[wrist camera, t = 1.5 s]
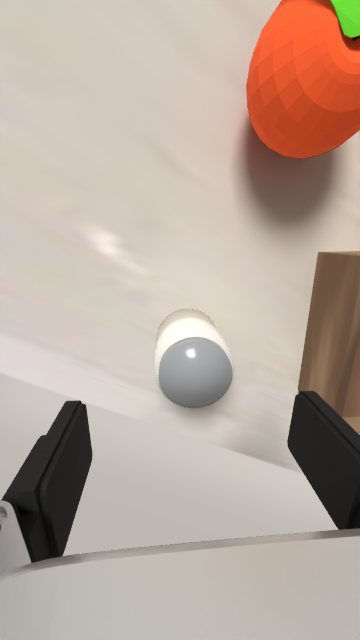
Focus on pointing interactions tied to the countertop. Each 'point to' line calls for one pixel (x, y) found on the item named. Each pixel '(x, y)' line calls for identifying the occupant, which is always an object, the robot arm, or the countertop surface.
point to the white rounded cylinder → (192, 359)
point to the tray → (335, 335)
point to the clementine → (306, 77)
